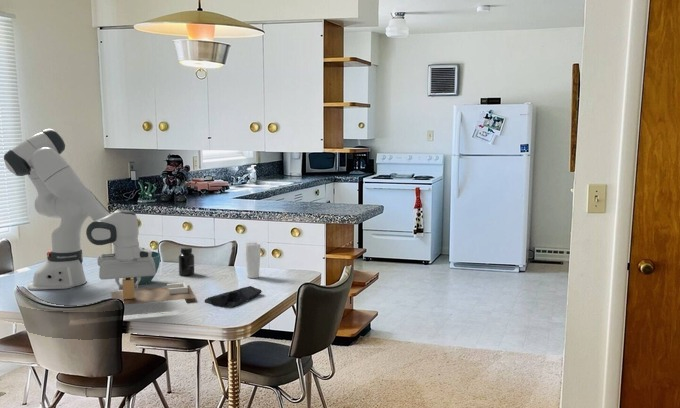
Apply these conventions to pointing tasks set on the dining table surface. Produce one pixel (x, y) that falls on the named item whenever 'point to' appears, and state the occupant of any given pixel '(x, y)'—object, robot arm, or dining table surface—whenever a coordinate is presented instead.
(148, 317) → the dining table surface
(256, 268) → the drinking glass
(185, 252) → the supplement bottle
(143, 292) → the board
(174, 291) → the plug holder
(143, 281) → the teal bowl
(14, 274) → the dining table surface
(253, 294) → the dark slate chunk
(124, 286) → the tan block with tip
